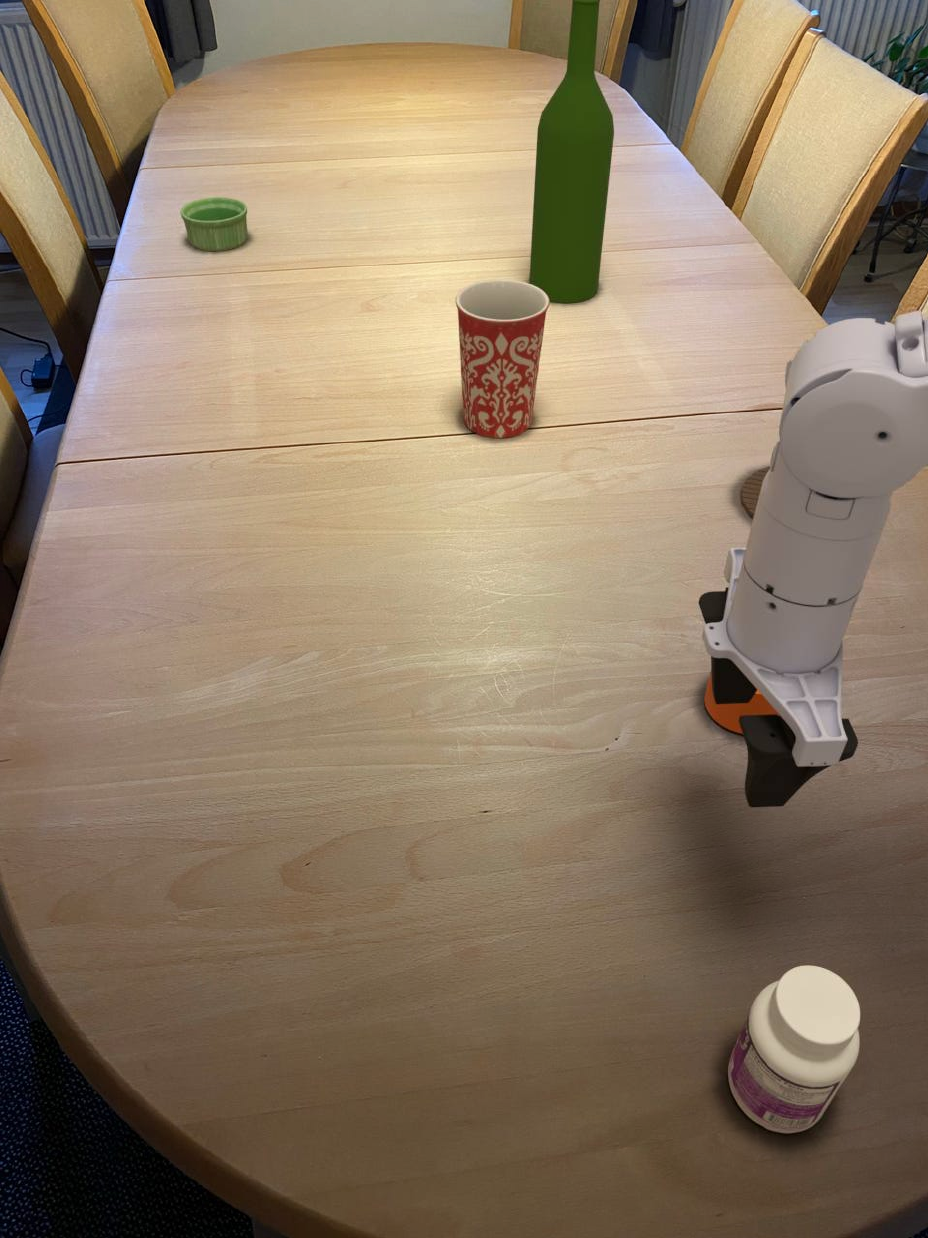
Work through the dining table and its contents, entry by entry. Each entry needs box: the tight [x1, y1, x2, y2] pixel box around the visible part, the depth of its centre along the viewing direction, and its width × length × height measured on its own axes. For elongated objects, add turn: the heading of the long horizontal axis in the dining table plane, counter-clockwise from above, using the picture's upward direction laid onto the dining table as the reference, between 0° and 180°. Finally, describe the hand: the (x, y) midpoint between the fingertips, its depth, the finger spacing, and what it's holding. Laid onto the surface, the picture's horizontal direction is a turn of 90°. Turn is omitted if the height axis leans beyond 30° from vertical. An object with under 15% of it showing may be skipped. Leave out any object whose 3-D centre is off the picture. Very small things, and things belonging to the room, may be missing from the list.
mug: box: [455, 279, 551, 439], centre depth 101 cm, size 13×9×14 cm
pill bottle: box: [727, 964, 861, 1134], centre depth 51 cm, size 5×5×10 cm
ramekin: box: [179, 196, 248, 252], centre depth 138 cm, size 9×9×4 cm
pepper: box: [704, 671, 780, 735], centre depth 72 cm, size 6×6×8 cm
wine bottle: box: [528, 0, 615, 304], centre depth 117 cm, size 9×9×32 cm
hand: (747, 748), depth 58 cm, fingers open, 7 cm apart
